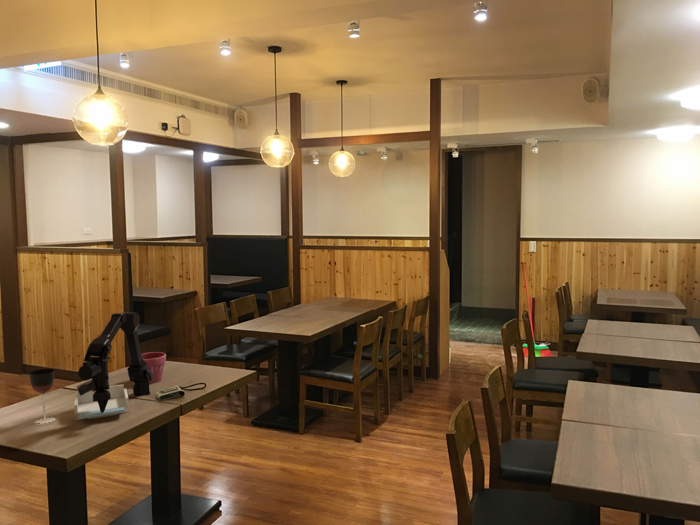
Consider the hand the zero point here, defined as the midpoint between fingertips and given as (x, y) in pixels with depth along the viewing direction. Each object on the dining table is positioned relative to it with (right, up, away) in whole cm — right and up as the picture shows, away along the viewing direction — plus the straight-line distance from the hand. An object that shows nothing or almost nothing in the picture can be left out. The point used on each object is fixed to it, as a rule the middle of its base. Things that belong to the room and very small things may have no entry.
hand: (102, 412), depth 223 cm
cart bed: (-5, -2, +12) cm, 13 cm away
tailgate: (-2, -1, +5) cm, 6 cm away
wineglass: (-23, -4, +1) cm, 24 cm away
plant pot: (+1, +1, +53) cm, 53 cm away
